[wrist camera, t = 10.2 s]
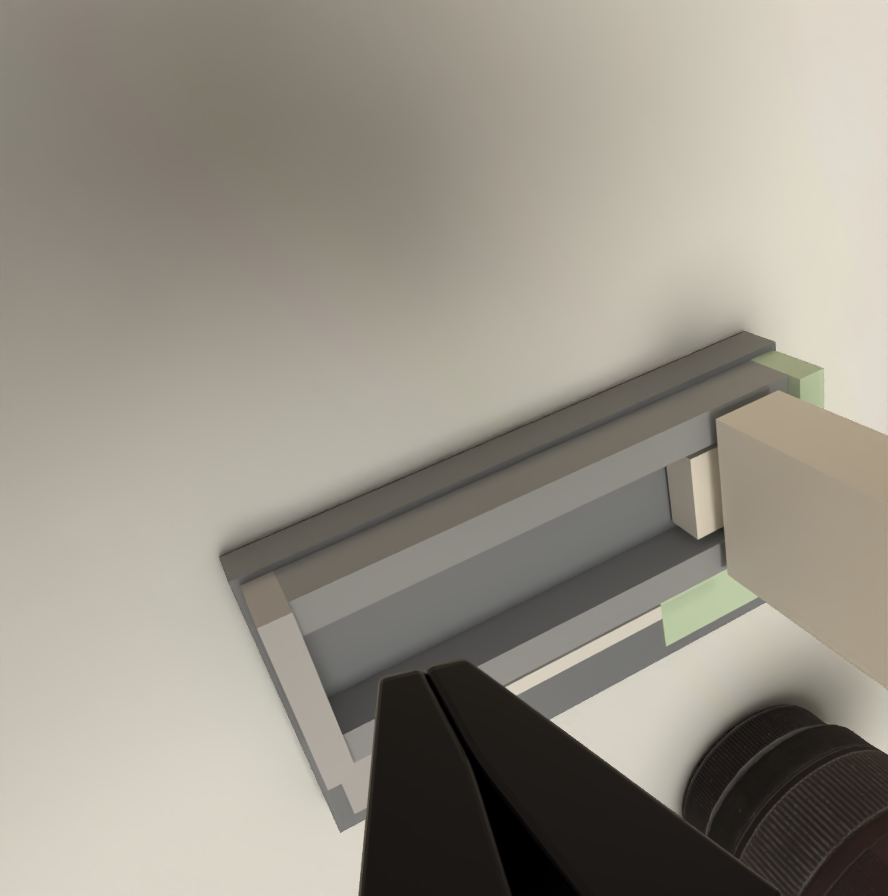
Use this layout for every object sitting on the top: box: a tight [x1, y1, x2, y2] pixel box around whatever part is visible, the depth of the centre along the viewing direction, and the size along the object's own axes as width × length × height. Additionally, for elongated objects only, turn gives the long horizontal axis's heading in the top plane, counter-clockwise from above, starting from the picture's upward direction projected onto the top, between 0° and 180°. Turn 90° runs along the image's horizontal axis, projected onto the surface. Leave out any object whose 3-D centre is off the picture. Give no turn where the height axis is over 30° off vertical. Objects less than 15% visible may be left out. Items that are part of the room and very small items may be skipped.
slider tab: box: [666, 390, 888, 689], centre depth 20 cm, size 3×5×8 cm, turn 14°
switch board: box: [219, 331, 824, 833], centre depth 23 cm, size 16×9×3 cm, turn 104°
